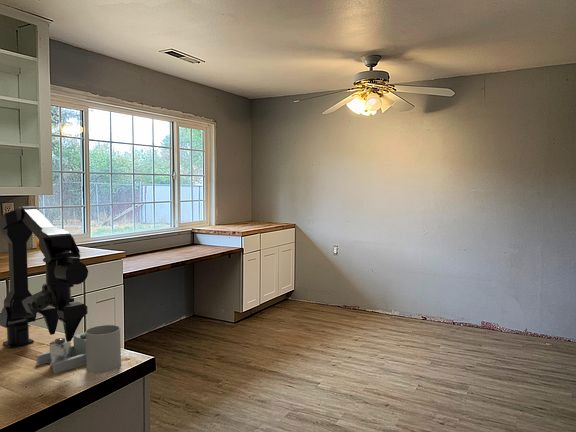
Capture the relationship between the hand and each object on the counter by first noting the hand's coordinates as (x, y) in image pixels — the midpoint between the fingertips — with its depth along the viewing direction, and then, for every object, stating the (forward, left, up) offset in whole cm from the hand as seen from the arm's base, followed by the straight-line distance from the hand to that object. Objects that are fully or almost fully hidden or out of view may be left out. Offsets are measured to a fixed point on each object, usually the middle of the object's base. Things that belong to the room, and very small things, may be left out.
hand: (60, 337), depth 121 cm
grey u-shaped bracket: (0, +3, -7) cm, 8 cm away
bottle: (0, 0, -7) cm, 7 cm away
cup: (+11, +6, -8) cm, 14 cm away
